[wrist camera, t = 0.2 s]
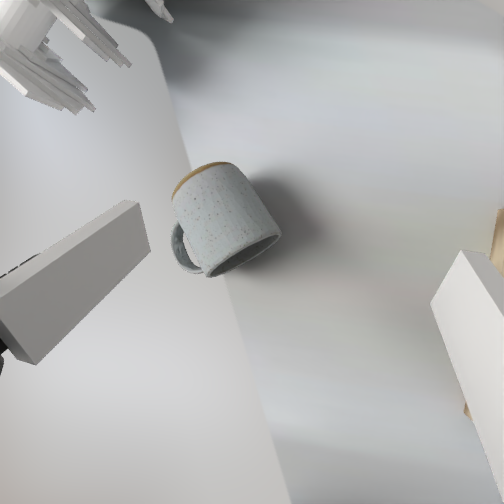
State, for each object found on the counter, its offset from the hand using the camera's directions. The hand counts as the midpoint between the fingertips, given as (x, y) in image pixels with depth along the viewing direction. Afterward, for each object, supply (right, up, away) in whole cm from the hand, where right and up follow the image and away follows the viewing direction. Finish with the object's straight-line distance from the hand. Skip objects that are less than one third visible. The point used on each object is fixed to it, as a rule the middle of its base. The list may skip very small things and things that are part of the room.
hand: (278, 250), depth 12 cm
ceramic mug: (-4, +2, +17) cm, 17 cm away
